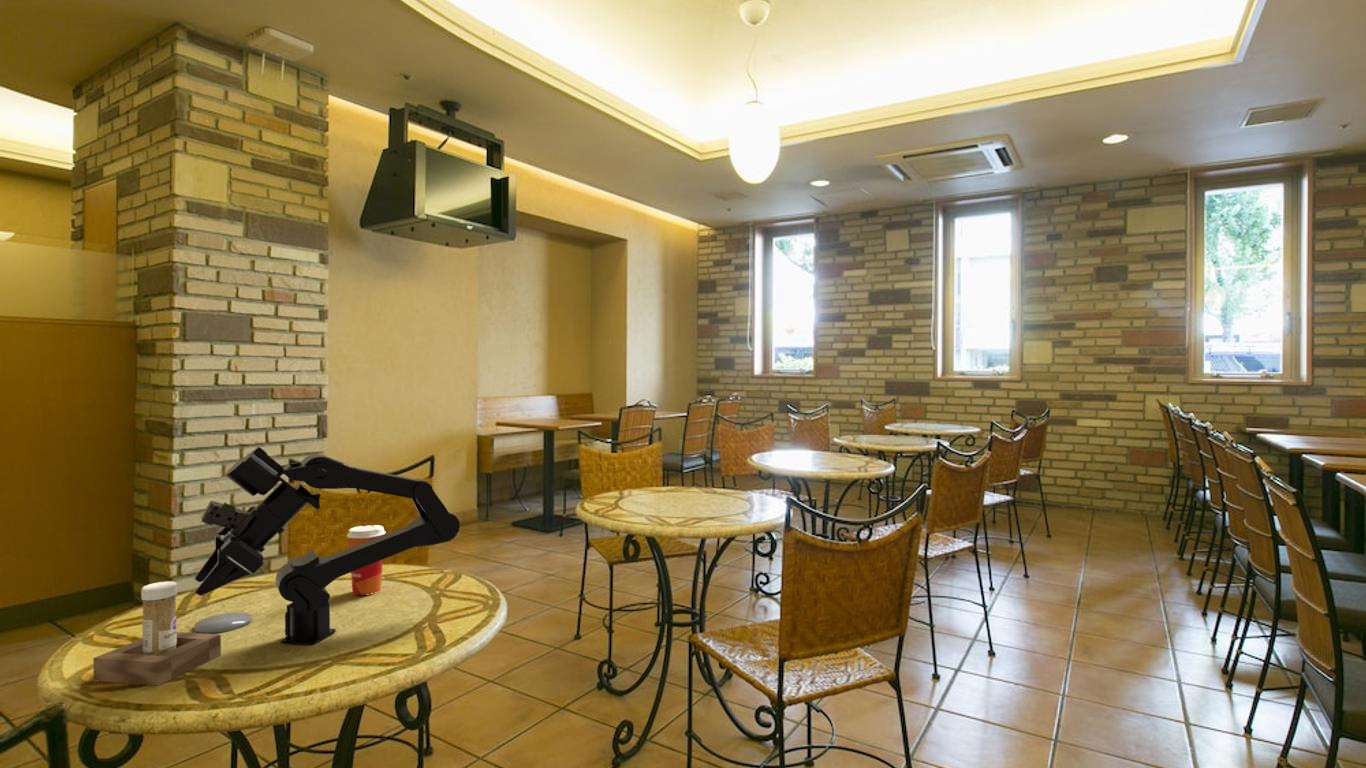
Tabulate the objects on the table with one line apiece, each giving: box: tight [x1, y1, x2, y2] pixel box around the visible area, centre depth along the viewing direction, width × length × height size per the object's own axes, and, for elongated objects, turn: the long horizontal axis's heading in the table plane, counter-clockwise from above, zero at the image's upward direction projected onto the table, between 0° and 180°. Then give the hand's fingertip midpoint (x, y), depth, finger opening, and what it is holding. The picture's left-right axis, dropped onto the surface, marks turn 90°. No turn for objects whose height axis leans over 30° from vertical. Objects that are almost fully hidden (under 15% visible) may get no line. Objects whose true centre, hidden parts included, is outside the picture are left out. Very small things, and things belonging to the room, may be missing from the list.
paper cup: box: [346, 524, 387, 596], centre depth 149 cm, size 8×8×14 cm
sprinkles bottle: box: [141, 581, 178, 656], centre depth 110 cm, size 5×5×14 cm
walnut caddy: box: [92, 631, 222, 687], centre depth 110 cm, size 12×12×4 cm
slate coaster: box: [193, 611, 252, 634], centre depth 129 cm, size 9×9×1 cm
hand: (197, 587), depth 113 cm, fingers open, 9 cm apart
